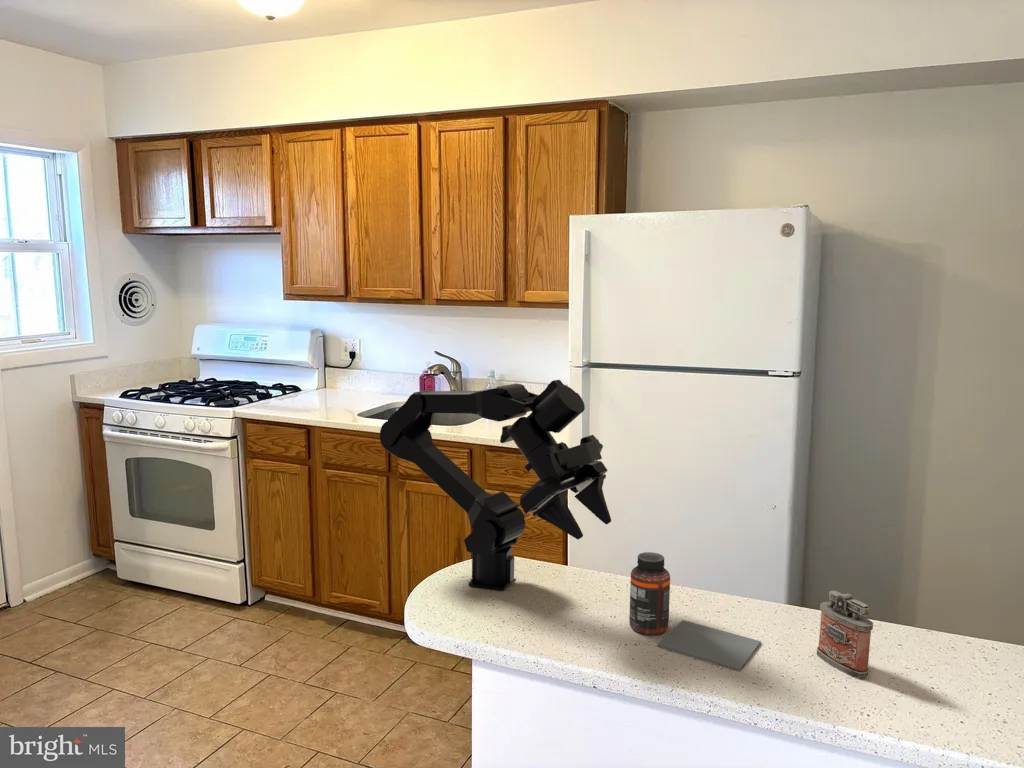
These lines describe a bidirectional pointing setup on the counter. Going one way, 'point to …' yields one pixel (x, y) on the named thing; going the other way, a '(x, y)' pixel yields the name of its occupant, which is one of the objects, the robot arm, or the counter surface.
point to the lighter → (845, 634)
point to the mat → (710, 644)
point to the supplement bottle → (649, 595)
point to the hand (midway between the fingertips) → (595, 530)
